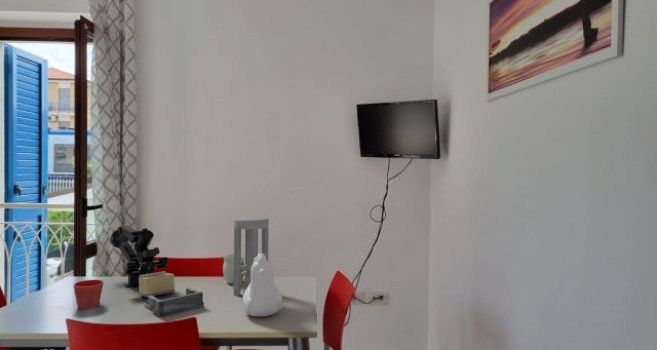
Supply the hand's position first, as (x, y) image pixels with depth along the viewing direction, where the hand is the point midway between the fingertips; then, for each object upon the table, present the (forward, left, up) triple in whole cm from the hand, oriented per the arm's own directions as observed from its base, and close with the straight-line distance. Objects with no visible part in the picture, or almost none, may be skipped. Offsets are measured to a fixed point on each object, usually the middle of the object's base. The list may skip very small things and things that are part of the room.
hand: (152, 280), depth 189 cm
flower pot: (-13, -21, -7) cm, 26 cm away
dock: (+14, -6, -8) cm, 17 cm away
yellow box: (+5, -2, -6) cm, 8 cm away
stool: (+40, +20, -7) cm, 45 cm away
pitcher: (+22, +34, -7) cm, 41 cm away
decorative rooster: (+57, +1, -7) cm, 57 cm away
